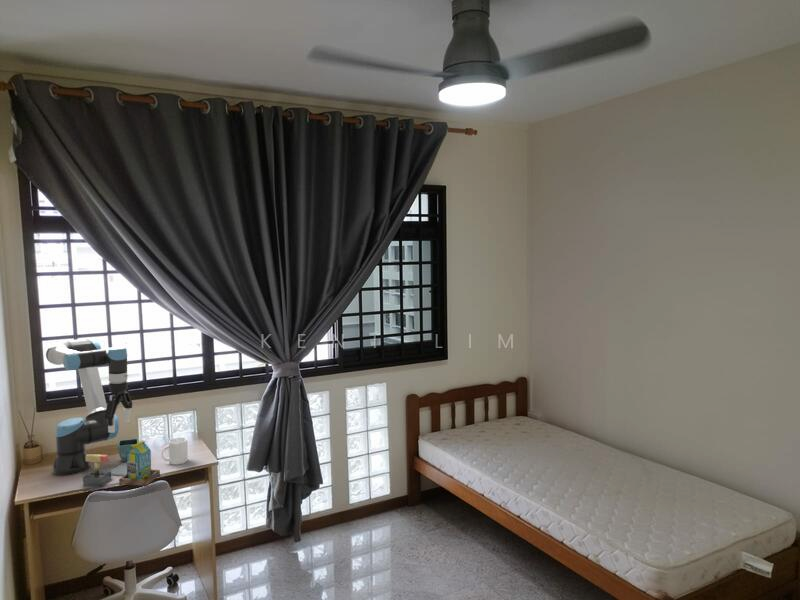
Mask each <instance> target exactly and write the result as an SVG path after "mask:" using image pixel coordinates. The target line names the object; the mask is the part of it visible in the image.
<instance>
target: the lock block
mask: <svg viewBox="0 0 800 600" xmlns="http://www.w3.org/2000/svg"><path fill="white" fill-rule="evenodd" d="M111 480H112V475H111V470H104V469H103V470H102V469H99V474H95V469H93V470H92V471H90V472H89V473H87V474H86V475H84V476H83V477H82V486H83V487H95V488H96V487H97V488H98V487H99V488H101V487H102V486H104V485H105V484H107V483H108V482H110V481H111Z"/></svg>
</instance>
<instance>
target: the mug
mask: <svg viewBox="0 0 800 600" xmlns="http://www.w3.org/2000/svg"><path fill="white" fill-rule="evenodd" d="M166 450H168V457H164V456H163V455H164V452H165V451H166ZM188 454H189V453H188V439H187V438H186V437H175V438H171V439H169V440H168V444H166V446H164V447H163V449H162V450H161V458H162V460H163V461H165V462H169V464H170V465H174V466H177V465H182V464H185V463H187V462H188V461H189V460H188V458H189V456H188Z"/></svg>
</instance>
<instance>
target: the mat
mask: <svg viewBox="0 0 800 600" xmlns="http://www.w3.org/2000/svg"><path fill="white" fill-rule="evenodd" d="M110 471H111V476H115V477H123V476H124V475H125V474H127V461H125V462H123V461H122V462H121V463H120V464H119V465H117V466H116V467H114V468H113V469H112V470H110Z"/></svg>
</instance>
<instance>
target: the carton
mask: <svg viewBox="0 0 800 600" xmlns="http://www.w3.org/2000/svg"><path fill="white" fill-rule="evenodd" d="M131 447H132V449H130V450H129V451H128V452H127V453H126V455H127V461H126V462H127V479H147V478H148V477H149V476H151V469H152V459H151V457H152V455H151V454H152V452H151V449H150V448H149V446H148V445H147V444H146V441H144V440H142V441H140V442H138V443H137V444H135V445H132V446H131Z"/></svg>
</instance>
